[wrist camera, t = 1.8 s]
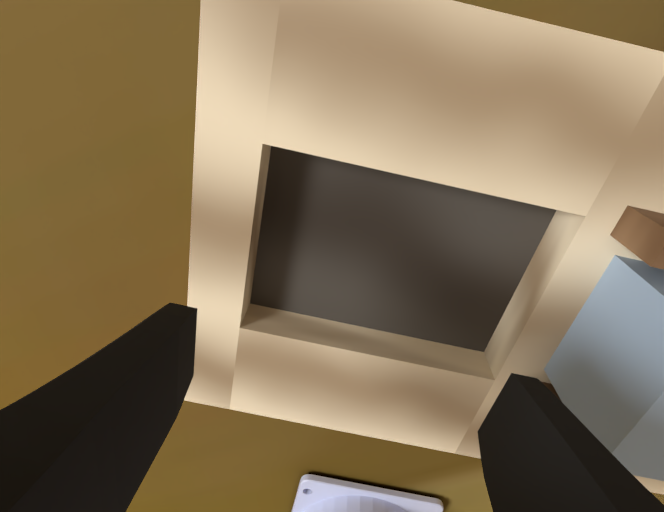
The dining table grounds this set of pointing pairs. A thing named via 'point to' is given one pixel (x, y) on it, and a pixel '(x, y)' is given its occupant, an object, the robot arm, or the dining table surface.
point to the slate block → (618, 365)
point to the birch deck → (404, 206)
